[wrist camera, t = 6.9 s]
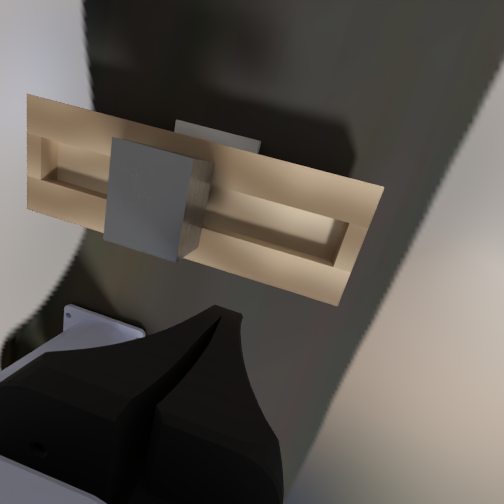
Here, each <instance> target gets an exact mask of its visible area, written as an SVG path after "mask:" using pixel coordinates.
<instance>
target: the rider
mask: <svg viewBox="0 0 504 504" xmlns="http://www.w3.org/2000/svg"><path fill="white" fill-rule="evenodd" d="M214 166H215V163H214V162H210V161H206V160H203V159H199V158H195V157H192V156H188V155H184V154H180V153H177V152H173V151H169V150H166V149H162V148H158V147H155V146H151V145H147V144H142V143H138V142H134V141H129V140H125V139H120V138H116V137H112V143H111V155H110V167H109V178H108V190H107V201H106V213H105V225H104V236H103V240H106V241H109V242H112V243H116V244H119V245H122V246H125V247H128V248H131V249H135V250H138V251H141V252H144V253H147V254H150V255H154V256H157V257H160V258H163V259H166V260H169V261H172V262H177V261H178V260H180V259H182V258H183V257H185V256H186V255H188V254H189V253H191V252H192V251H194V250H195V249H197V248H198V246H199V241H200V236H201V231H202V226H203V221H204V216H205V211H206V206H207V201H208V196H209V191H210V186H211V181H212V176H213V171H214Z"/></svg>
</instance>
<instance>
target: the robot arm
mask: <svg viewBox="0 0 504 504" xmlns="http://www.w3.org/2000/svg"><path fill="white" fill-rule="evenodd" d="M242 318H243V316H242V314H241V313H238V312H235V311H232V310H229V309H226V308H223V307H220V306H217V305H214V306H212V307H210V308H208V309H206V310H204V311H203V312H201V313H199V314H197V315H195V316H193V317H191V318H190V319H188V320H186V321H184V322H182V323H180V324H177V325H175V326H173V327H171V328H168V329H166V330H163V331H160V332H158V333H155V334H152V335H149V336H145V331H144V330H143V329H141V328H138V327H135V326H132V325H129V324H127V323H124V322H121V321H118V320H115V319H112V318H109V317H107V316H104V315H101V314H98V313H95V312H92V311H89V310H87V309H84V308H81V307H78V306H75V305H72V304H69V305H67V306H65V308H64V324H63V332H62V333H61V334H59V335H57V336H56V337H54V338H53V339H51V340H50V341H48V342H46V343H45V344H43V345H42V346H40V347H38V348H37V349H35V350H34V351H32V352H31V353H29V354H27V355H26V356H24V357H23V358H21V359H20V360H18V361H16V362H15V363H13V364H12V365H10V366H9V367H7V368H5V369H4V370H2V371H1V372H0V504H283V495H284V487H283V469H282V460H281V453H280V446H279V440H278V439H277V437H276V435H275V434H274V432H273V430H272V429H271V427H270V426H269V424H268V422H267V421H266V419H265V417H264V415H263V413H262V411H261V409H260V407H259V405H258V402H257V400H256V397H255V395H254V392H253V390H252V388H251V385H250V382H249V379H248V376H247V372H246V368H245V364H244V360H243V354H242V347H241V336H240V328H241V322H242ZM137 337H138V338H137Z"/></svg>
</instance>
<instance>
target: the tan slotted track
mask: <svg viewBox="0 0 504 504" xmlns="http://www.w3.org/2000/svg"><path fill="white" fill-rule="evenodd" d="M112 137H116V138H120V139H125V140H129V141H134V142H138V143H142V144H147V145H151V146H155V147H158V148H162V149H166V150H169V151H173V152H177V153H180V154H184V155H188V156H192V157H195V158H199V159H203V160H206V161H210V162H214V163H215V166H214V171H213V176H212V181H211V186H210V191H209V196H208V201H207V206H206V211H205V216H204V221H203V226H202V231H201V236H200V241H199V246H198V248H197V249H195V250H194V251H192V252H191V253H189V254H188V255H186V256H185V257H183V258H185V259H188V260H192V261H195V262H198V263H201V264H204V265H208V266H211V267H214V268H217V269H220V270H224V271H227V272H230V273H233V274H236V275H240V276H243V277H246V278H249V279H252V280H255V281H259V282H262V283H265V284H268V285H271V286H275V287H278V288H281V289H284V290H287V291H291V292H294V293H297V294H300V295H303V296H306V297H310V298H313V299H316V300H319V301H322V302H326V303H329V304H332V305H335V306H338V303H339V301H340V298H341V296H342V293H343V291H344V288H345V286H346V283H347V281H348V278H349V276H350V273H351V271H352V268H353V266H354V263H355V261H356V258H357V256H358V253H359V250H360V248H361V245H362V243H363V240H364V238H365V235H366V233H367V230H368V228H369V225H370V223H371V220H372V218H373V215H374V213H375V210H376V208H377V205H378V203H379V200H380V197H381V195H382V192H383V190H384V187H382V186H378V185H374V184H370V183H366V182H363V181H359V180H355V179H351V178H347V177H343V176H340V175H336V174H332V173H328V172H324V171H320V170H317V169H313V168H309V167H305V166H301V165H298V164H294V163H290V162H286V161H282V160H278V159H275V158H271V157H267V156H263V155H259V154H258V153H259V149H260V145H261V141H259V140H255V139H251V138H247V137H243V136H239V135H235V134H231V133H227V132H223V131H219V130H216V129H212V128H208V127H204V126H200V125H196V124H192V123H188V122H184V121H180V120H176V123H175V130H174V132H171V131H168V130H164V129H160V128H156V127H152V126H149V125H145V124H141V123H137V122H133V121H129V120H126V119H122V118H118V117H114V116H110V115H106V114H103V113H99V112H95V111H91V110H87V109H83V108H80V107H76V106H72V105H68V104H64V103H61V102H57V101H53V100H49V99H45V98H42V97H38V96H34V95H30V94H27V209H29V210H32V211H35V212H39V213H42V214H45V215H48V216H52V217H55V218H58V219H61V220H64V221H67V222H71V223H74V224H77V225H80V226H83V227H86V228H90V229H93V230H96V231H99V232H102V233H104V225H105V213H106V201H107V190H108V178H109V167H110V155H111V143H112Z"/></svg>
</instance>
